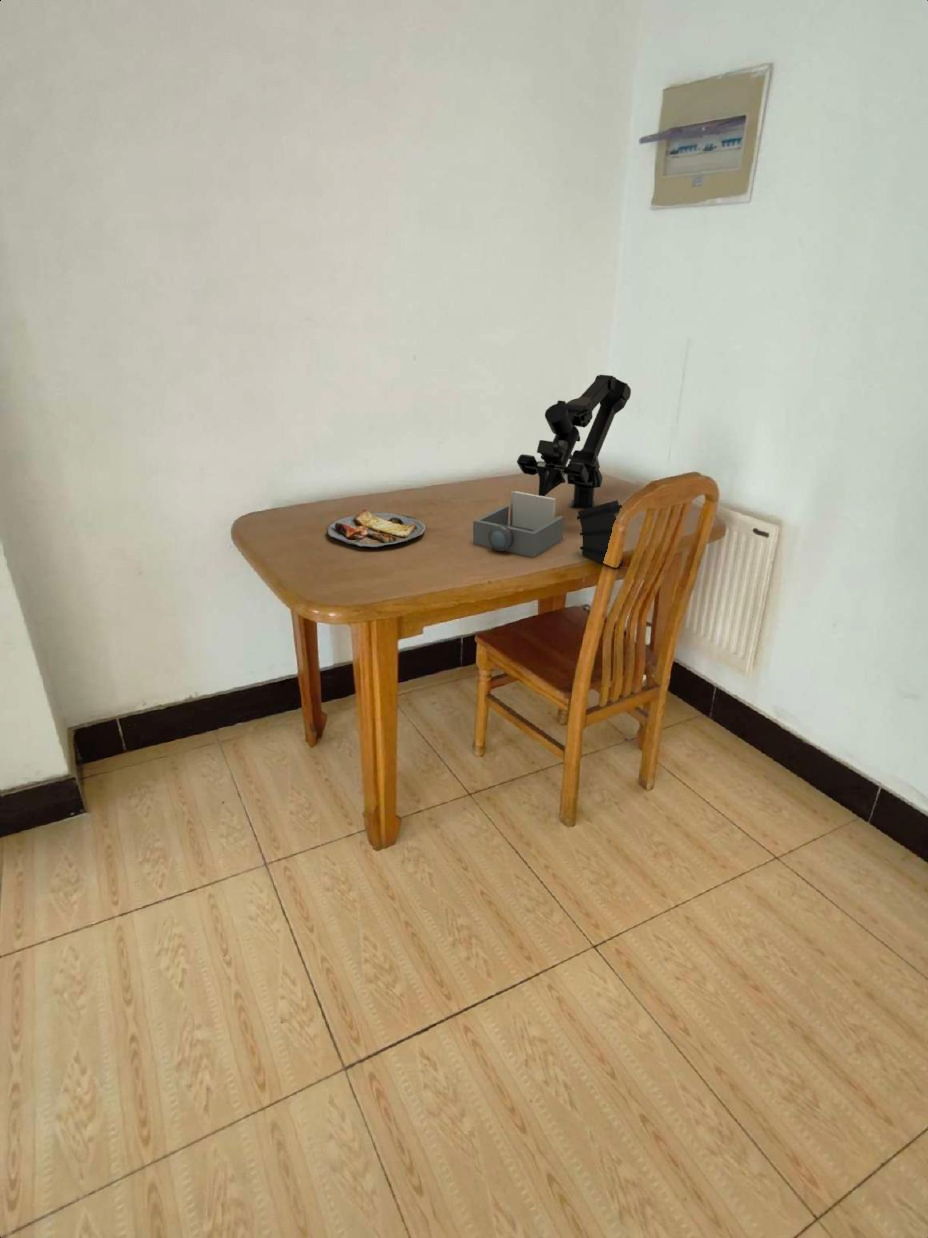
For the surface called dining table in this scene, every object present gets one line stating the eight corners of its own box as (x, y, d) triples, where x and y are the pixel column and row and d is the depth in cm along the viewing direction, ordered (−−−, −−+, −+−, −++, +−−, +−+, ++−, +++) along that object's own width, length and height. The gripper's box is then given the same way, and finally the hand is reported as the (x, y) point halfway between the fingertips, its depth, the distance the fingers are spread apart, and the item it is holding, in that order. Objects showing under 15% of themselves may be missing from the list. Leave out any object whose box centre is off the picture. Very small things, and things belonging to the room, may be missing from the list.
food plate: (309, 535, 186) (308, 522, 185) (372, 514, 203) (371, 502, 201) (380, 560, 173) (380, 546, 171) (441, 534, 190) (441, 522, 188)
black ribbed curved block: (624, 567, 163) (608, 502, 162) (585, 573, 174) (570, 513, 173) (635, 563, 165) (620, 499, 164) (596, 570, 176) (581, 510, 175)
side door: (509, 524, 190) (510, 491, 186) (513, 522, 192) (514, 489, 188) (551, 533, 184) (553, 499, 180) (555, 531, 186) (557, 497, 182)
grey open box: (505, 526, 193) (505, 502, 190) (563, 538, 185) (564, 514, 182) (468, 546, 180) (468, 520, 177) (528, 560, 171) (529, 534, 168)
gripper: (521, 422, 187) (498, 474, 183) (587, 431, 178) (564, 485, 174) (534, 447, 196) (513, 496, 193) (598, 457, 187) (576, 508, 184)
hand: (540, 496), depth 186 cm, fingers closed
